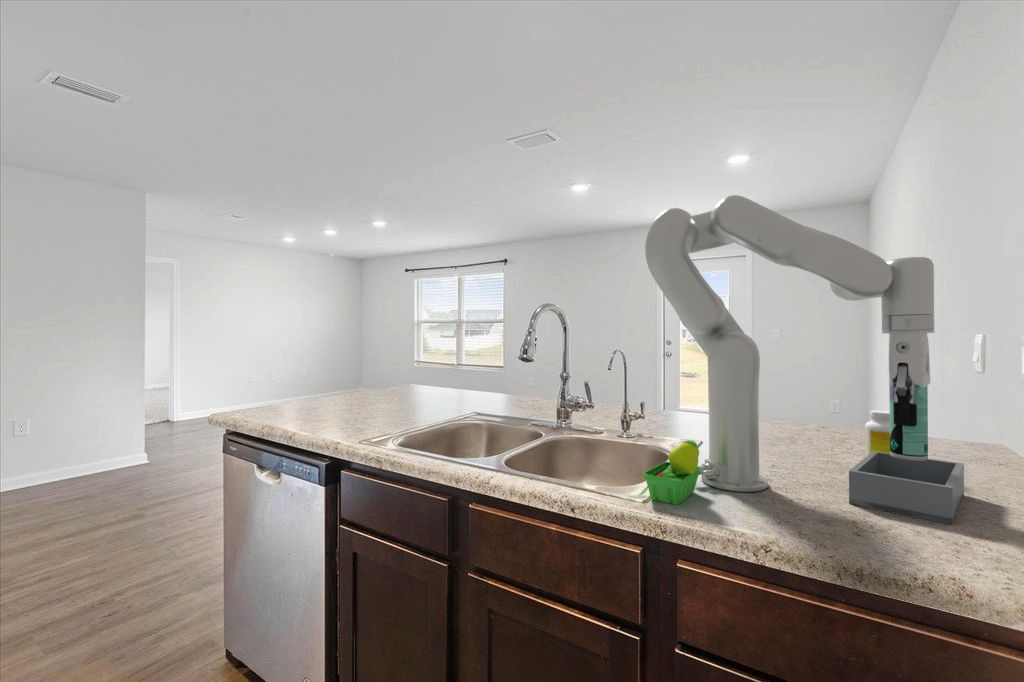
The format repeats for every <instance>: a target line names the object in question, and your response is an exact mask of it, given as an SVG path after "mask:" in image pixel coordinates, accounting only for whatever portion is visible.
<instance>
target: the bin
mask: <svg viewBox="0 0 1024 682" xmlns="http://www.w3.org/2000/svg"><path fill="white" fill-rule="evenodd" d="M964 495H965V463H964V462H956V461H951V460H950V461H949V460H948V461H947V460H942V459H934V458H928V460H924V461H915V460H905V459H900V458H896V457H893V456H891V455H890V453H885V452H877V451H872V452H871V453H870V454H869V455H868V456H866V457H865V456H864V458H863V459H861V460H860V461H859V462H857V463H856V464H855V465H854V466H853V467H852V468H851V469H850V470H848V503H850V505H854V504H855V506H859V505H860V506H859V507H863V506H864V507H863V508H869V509H873V510H879V511H883V512H887V513H888V512H889V513H892V512H894V513H893V514H897V513H898V515H902V514H903V516H907V515H908V516H907V517H911V516H912V518H916V517H917V518H918V519H921V518H922V519H923V520H927V521H930V522H931V521H932V522H935V523H936V522H937V523H941V524H945V525H951V526H953V524H954V523H955V519H956V517H957V515H956V514H958V512H959V509H960V506H961V503H962V502H963V499H964V497H965V496H964ZM917 518H916V519H917Z"/></svg>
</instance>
